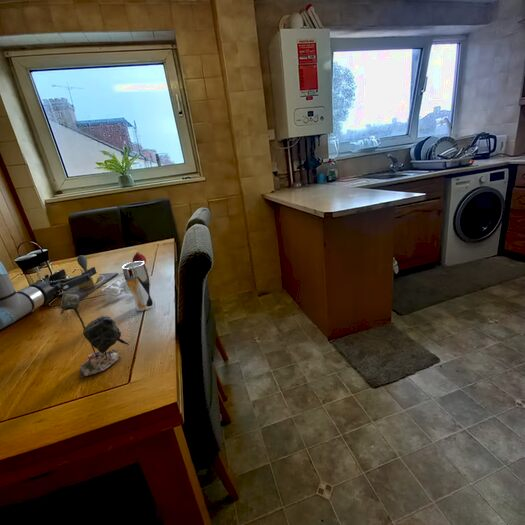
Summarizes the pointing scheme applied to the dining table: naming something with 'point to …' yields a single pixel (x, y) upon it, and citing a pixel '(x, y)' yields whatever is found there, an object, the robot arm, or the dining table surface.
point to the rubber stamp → (83, 263)
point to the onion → (139, 257)
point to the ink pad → (80, 295)
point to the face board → (90, 289)
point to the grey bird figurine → (96, 338)
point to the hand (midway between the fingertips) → (79, 271)
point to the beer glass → (139, 284)
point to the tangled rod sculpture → (116, 288)
